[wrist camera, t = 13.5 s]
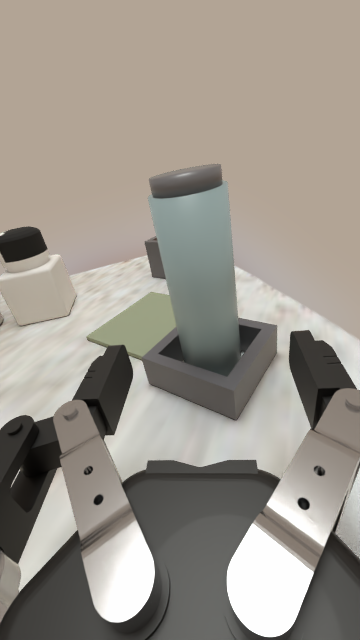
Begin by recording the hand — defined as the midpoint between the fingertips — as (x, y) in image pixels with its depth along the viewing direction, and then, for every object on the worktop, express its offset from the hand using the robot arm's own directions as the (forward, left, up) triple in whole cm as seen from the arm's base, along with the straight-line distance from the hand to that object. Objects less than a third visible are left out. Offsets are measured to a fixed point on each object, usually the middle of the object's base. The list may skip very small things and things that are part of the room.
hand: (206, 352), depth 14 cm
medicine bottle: (-34, +8, -9) cm, 36 cm away
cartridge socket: (-5, +7, -9) cm, 12 cm away
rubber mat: (-15, +11, -9) cm, 20 cm away
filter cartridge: (-5, +7, -9) cm, 12 cm away
